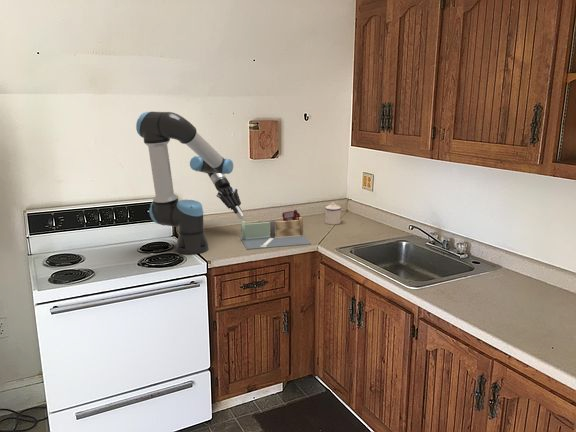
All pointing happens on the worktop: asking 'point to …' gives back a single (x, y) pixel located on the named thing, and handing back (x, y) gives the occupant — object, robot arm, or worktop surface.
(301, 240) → the card
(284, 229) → the fixed fence panel
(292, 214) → the toy fire truck
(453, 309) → the worktop surface
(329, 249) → the worktop surface
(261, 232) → the hinged fence panel
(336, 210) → the teacup with lid
